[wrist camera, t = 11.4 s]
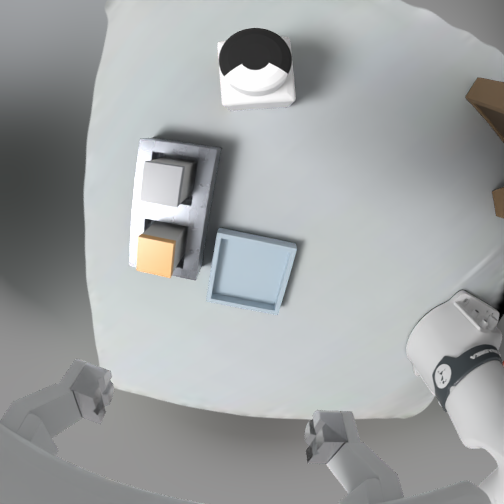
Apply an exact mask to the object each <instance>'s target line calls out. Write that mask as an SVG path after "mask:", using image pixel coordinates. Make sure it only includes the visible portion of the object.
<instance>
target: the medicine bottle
mask: <svg viewBox="0 0 504 504" xmlns="http://www.w3.org/2000/svg"><path fill="white" fill-rule="evenodd" d="M217 47H218V60H219V73H220V85H221V97H222V104H223V106H225V107H226V108H227V109H229V110H230V111H242V110H254V109H269V108H288V107H289V106H290V105H291V104H292V103H293V102H294V101H295V100H296V94H295V83H294V72H293V62H292V52H291V43H290V38H289V37H280V36H279V35H277V34H276V33H274V32H272V31H269V30H266V29H261V28H250V29H245V30H242V31H239V32H237V33H235V34H234V35H232V36H231V37H230V38H228V39H227V40H226V41H220V42H218V44H217Z"/></svg>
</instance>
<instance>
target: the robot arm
mask: <svg viewBox="0 0 504 504" xmlns="http://www.w3.org/2000/svg"><path fill="white" fill-rule="evenodd" d="M498 320H499V312H498V311H497V310H496V309H495V308H493V307H491V306H490V305H488V304H486V303H485V302H483V301H481V300H480V299H478V298H476V297H474V296H473V295H471V294H469V293H468V292H466V291H464V290H461V291H459V292H458V293H456V294H455V295H454V296H453V297H452V298H451V299H450V300H449V301H447V302H446V303H444V304H442V305H440V306H438V307H436V308H434V309H433V310H431V311H430V312H429V313H427V314H426V315H425V316H424V317H423V318H422V319H421V320H420V321H419V322H418V324H417V325H416V326H415V328H414V329H413V331H412V332H411V334H410V336H409V339H408V342H407V346H406V353H407V357H408V359H409V360H410V361H411V362H412V364H413V371H414V373H415V375H416V376H421V378H422V379H423V381H424V382H425V384H426V385H427V386H428V388H429V389H430V391H431V392H432V394H433V395H435V396H436V397H437V399H438V402H439V404H440V406H442V408H443V409H444V411H445V412H448V414H449V416H450V418H451V420H452V422H453V424H454V426H455V429H456V431H457V432H458V435H459V437H460V439H461V441H462V443H463V444H464V445H465V446H466V447H468V448H472V449H477V448H484V449H485V450H487V451H488V452H489V453H490V454H491V455H492V456H493V457H494V459H495V460H496V462H497V464H498V467H497V468H496V469H495V470H494V471H493V472H492V473H491V474H490V475H489V476H488V477H486V478H485V479H484V480H483V481H482V482H481V483H480V484H479V485H478V486H476V485H475V484H473V483H472V482H470V481H467V480H465V481H460V482H458V483H455V484H452V485H449V486H446V487H443V488H440V489H436V490H433V491H429V492H426V493H422V494H418V495H415V496H410V497H406V498H404V496H403V492H402V488H401V485H400V481H399V477H398V474H397V473H396V472H395V471H393V469H391V468H390V467H389V466H388V465H387V464H386V463H385V462H384V461H383V460H381V458H380V457H379V456H377V455H376V454H375V453H374V452H373V451H372V450H371V449H370V448H369V447H368V446H367V445H366V444H365V443H364V442H360V438H359V434H358V431H357V427H356V423H355V419H354V416H353V413H352V412H351V411H326V410H316V411H315V412H314V414H313V419H312V420H310V421H309V422H308V424H307V426H306V429H305V442H306V443H307V444H308V445H309V447H308V448H307V450H306V455H307V463H315V464H327V466H328V468H329V469H330V470H331V472H332V473H333V474H334V475H335V477H336V478H337V479H338V481H339V482H340V483H341V485H342V486H343V487H344V489H345V490H346V491H347V492H348V495H347V496H345V497H344V498H343V499H342V500H340V501H339V502H338V504H504V367H503V365H504V361H503V362H502V359H501V357H500V356H501V355H500V353H499V352H498V350H499V347H500V345H501V342H502V333H501V331H500V330H499V329H498V327H497V323H498ZM111 377H112V375H111V371H109V370H106V369H104V368H101V367H98V366H96V365H93V364H91V363H88V362H85V361H83V360H80V359H76V360H75V361H74V362H73V363H72V365H71V366H70V368H69V369H68V371H67V372H66V374H65V375H64V377H63V378H62V380H61V381H60V383H59V384H53V385H51V386H49V387H46V388H44V389H42V390H39V391H37V392H35V393H32V394H30V395H27V396H25V397H23V398H20V399H18V400H16V401H13V403H12V404H11V405H10V407H9V408H8V410H7V411H6V413H5V414H4V416H3V417H2V419H1V420H0V504H206V503H200V502H194V501H189V500H184V499H179V498H175V497H170V496H165V495H162V494H158V493H154V492H150V491H147V490H143V489H140V488H137V487H133V486H130V485H127V484H124V483H121V482H118V481H115V480H112V479H109V478H106V477H104V476H101V475H99V474H96V473H93V472H91V471H89V470H86V469H84V468H82V467H79V466H77V465H75V464H73V463H70V462H68V461H66V460H64V459H62V458H60V457H58V456H56V454H57V452H58V448H57V446H56V445H55V443H54V441H53V440H52V438H53V437H54V436H56V435H58V434H59V433H61V432H62V431H64V430H65V429H67V428H68V427H70V426H71V425H73V424H75V423H76V422H78V421H79V420H81V419H82V418H85V419H88V420H90V421H93V422H95V423H98V424H101V421H102V419H103V417H104V415H105V413H106V411H105V406H107V405H109V404H110V402H111V400H112V397H113V391H114V386H113V383H112V382H111V381H110V379H111Z"/></svg>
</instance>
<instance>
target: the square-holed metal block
mask: <svg viewBox="0 0 504 504" xmlns="http://www.w3.org/2000/svg"><path fill="white" fill-rule="evenodd" d="M221 149H222V148H218V147H212V146H206V145H200V144H194V143H187V142H180V141H173V140H165V139H157V138H145V139H140V143H139V150H138V158H137V165H136V174H135V183H134V193H133V204H132V217H131V233H130V257H129V266H133V267H137V244H138V236H139V235H140V234H142V233H143V232H144V231H146V230H147V229H148V228H149V227H150V226H151V225H152V224H153V223H154V222H156V221H162V222H167V223H172V224H177V225H182V226H187V227H188V230H187V237H186V245H185V253H184V255H183V257H182V258H181V260H180V262H179V263H178V265H177V267H176V268H175V270H174V272H173V274H172V276H177V277H182V278H186V279H191V280H196V279H197V276H198V274H199V272H200V269H201V267H202V260H203V254H204V247H205V241H206V234H207V228H208V222H209V216H210V210H211V204H212V198H213V192H214V187H215V181H216V176H217V170H218V165H219V160H220V154H221ZM165 156H166V157H173V158H180V159H186V160H192V161H197V165H196V171H195V177H194V183H193V189H192V194H190V195H189V196H188V197H187V198H186V199H185V200H184V201H183V202H181V203H180V205H179V206H178V207H177V208H176V207H171V206H165V205H160V204H154V203H149V202H143V201H140V193H141V183H142V175H143V167H144V162H145V161H151V160H154V159H158V158H162V157H165Z"/></svg>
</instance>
